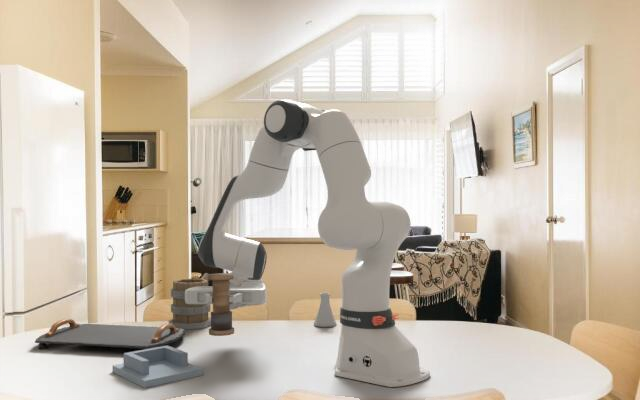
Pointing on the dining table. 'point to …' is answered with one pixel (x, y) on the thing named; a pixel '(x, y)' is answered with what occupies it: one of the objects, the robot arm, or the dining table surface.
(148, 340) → the serving board
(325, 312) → the flask
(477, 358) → the dining table surface
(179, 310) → the tankard
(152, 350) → the notched block
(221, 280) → the bobbin
